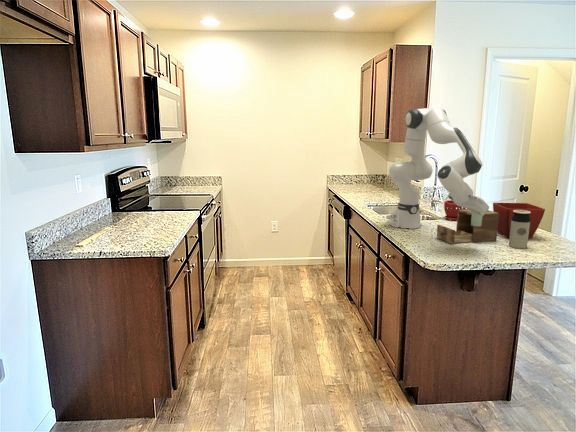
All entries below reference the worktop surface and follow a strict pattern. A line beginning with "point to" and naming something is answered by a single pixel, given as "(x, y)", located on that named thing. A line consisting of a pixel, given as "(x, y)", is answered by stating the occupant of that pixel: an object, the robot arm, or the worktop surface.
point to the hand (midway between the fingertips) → (478, 213)
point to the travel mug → (519, 229)
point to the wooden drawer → (453, 235)
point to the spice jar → (476, 218)
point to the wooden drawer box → (479, 232)
